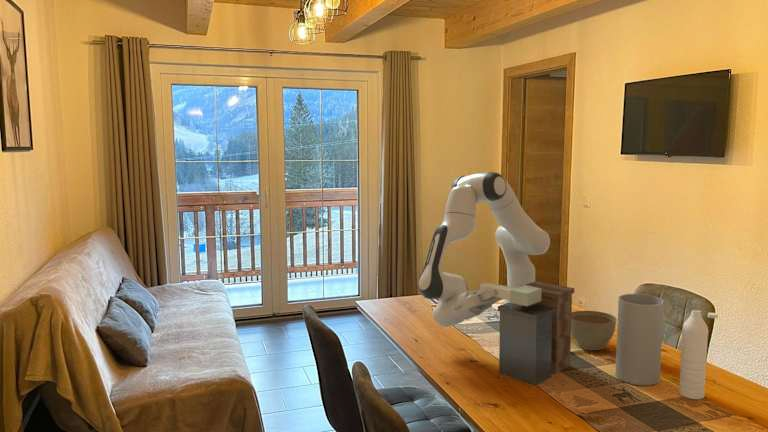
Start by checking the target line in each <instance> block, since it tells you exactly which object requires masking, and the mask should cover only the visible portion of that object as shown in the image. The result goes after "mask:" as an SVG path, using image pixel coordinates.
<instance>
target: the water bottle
mask: <svg viewBox="0 0 768 432" xmlns="http://www.w3.org/2000/svg"><path fill="white" fill-rule="evenodd" d="M690 312H691V313H690V316H689V317H688V318H687V319H686V320H685V321H684V323H683V324H682V328H681V329H682V330H681V333H682V334H681V336H682V337H681V350H680V351H681V352H680V368H679V386H678V393H679V395H681V396H682V397H684V398H687V399H691V400H702V399H704V398H705V393H706V392H705V391H706V390H705V388H706V372H707V371H706V370H707V360H708V359H707V357H708V354H707V353H708V342H709V341H708V340H709V338H708V337H709V327H708V325H707V323H706V322H705V321H704V319H703V318H702V315H703V314H702V311H701V310H698V309H697V310H696V309H692V310H691V311H690ZM707 318H710V319H718V318H719V314H718V313H716V312H707Z"/></svg>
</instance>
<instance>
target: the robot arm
mask: <svg viewBox="0 0 768 432" xmlns="http://www.w3.org/2000/svg"><path fill="white" fill-rule="evenodd" d="M482 203H487V205H488V207H489V210H490V211H491V213H492V215H493V217H494V219H495V221H496V222H497V224H498V225H499V226H498V227H497V228H496V231H495V233H494V239H495V242H496V244H497V245H498V246H499V248H500V249H501V251H502V254H503V257H504V261H505V263H506V264H505V265H506V270H507V271H506V274H507V275H506V279H507V282H506V283H507V284H506V285H505V284H503V285H502V286H507V287H512V288H518V287H520V286H523V285H526V284H529V283H532V282H535V281H536V267H535V265H534V264H533V263H532V262H531V260H530V258H529V256H537V255H538V256H539V255H543V254H545V253H546V252H548V250H549V248H550V245H551V239H550V238H551V237H550V235H549V233H548V232H547V231H545V230H544V229H542V228H541V227H539V226H538V225H537V224H536V222H535V221H534V220H533V219H531V218H530V216H529V215H528V214H527V213H526V212H525V209H523V207H522V205H521V203H520V201H519V199H518V197H517V196H516V194H515V192H514V190H513V188H512V186H511V185H510V184H509V182H508V181H507V180H506V178H505V177H504V176H503V175H501V173H498V172H493V171H489V172H477V173H476V172H475V173H473V174H467V175H461V176H459V177H456V178H455V179H454V180H453V182H452V185H451V189H450V191H449V194H448V196H447V200H446V204H445V209H444V215H443V219H442V223H441V224H440V225H439V226H438V227H437V228H435V230H434V232H433V236H432V239H431V241H430V246H429V249H428V253H427V255H426V261H425V264H424V266H423V269H422V272H421V274H420V276H419V278H418V283H417V284H418V289H419V292H420V294H421V295H422V296H423V298H425V299H427V300H438V302H437V305H436V307H435V308H434V309H433V311H432V317H433V319H434V321H435V322H436V323H437V324H438V325H439V326H441V327H444V328H445V327H446V328H449V327H453V326H456V325H459V324H460V323H463V322H464V321H465V320H470V319H473V318H475V317H477V316H480V315H482V313H484V312H485V311H486V310H488V309H489V308H492V307H493V304H495V303H498V302H499V301H501V300H503V304H506V303H508V302H510V300H506V299H502V298H497V297H493V296H495V295H497V294H498V292H497V290H496V289H495V290H492V291H489V292H486V293H485V292H480V289H477V290H476V289H475V290H472V289H468V288H469V287H468V283H467V281H466V279H465V278H464V276H462V275H459V274H456V273H455V274H454V273H449V272H444V271H442V265H443V260H444V258H445V254H446V251H447V248H448V246H449V245H451V244H452V243H455V242H459V241H462V240H465V239H467V238H468V237H469V236H470V235H472V233H473V232H474V228H475V222H476V211H477V204H482Z"/></svg>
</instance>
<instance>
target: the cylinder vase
mask: <svg viewBox="0 0 768 432" xmlns="http://www.w3.org/2000/svg"><path fill="white" fill-rule="evenodd" d="M617 303H618V304H617V305H618V306H617V326H616V327H617V328H616V353H615V354H616V355H615V357H616V358H615V375H616V377H617V378H618V379H619V380H621V381H622V382H625V383H628V384H630V385H635V386H653V385H656V384H658V383H659V381H660V379H661V364H662V363H661V361H662V343H663V341H662V340H663V324H664V323H663V321H664V300H663V298H661V297H658V296H654V295H649V294H643V293H625V294H620V295H618V300H617Z"/></svg>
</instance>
